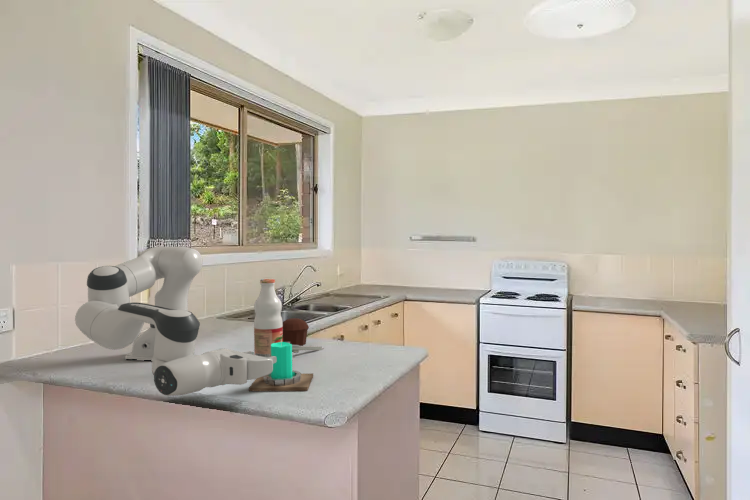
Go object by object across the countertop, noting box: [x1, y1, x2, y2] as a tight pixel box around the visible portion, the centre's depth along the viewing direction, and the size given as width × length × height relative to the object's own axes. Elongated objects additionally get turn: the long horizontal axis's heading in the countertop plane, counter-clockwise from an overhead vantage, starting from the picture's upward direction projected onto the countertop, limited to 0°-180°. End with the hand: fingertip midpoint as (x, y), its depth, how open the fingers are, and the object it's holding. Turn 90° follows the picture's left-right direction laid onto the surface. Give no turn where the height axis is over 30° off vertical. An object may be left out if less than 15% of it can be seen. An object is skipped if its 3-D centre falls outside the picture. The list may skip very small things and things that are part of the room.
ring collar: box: [264, 369, 302, 386], centre depth 150 cm, size 10×10×2 cm
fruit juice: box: [253, 278, 284, 358], centre depth 175 cm, size 9×9×28 cm
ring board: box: [248, 373, 314, 392], centre depth 150 cm, size 16×14×1 cm
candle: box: [271, 339, 293, 379], centre depth 150 cm, size 6×6×12 cm
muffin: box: [282, 317, 310, 346], centre depth 204 cm, size 12×11×10 cm
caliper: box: [286, 342, 325, 354], centre depth 188 cm, size 20×1×6 cm, turn 145°
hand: (263, 356), depth 144 cm, fingers open, 8 cm apart
